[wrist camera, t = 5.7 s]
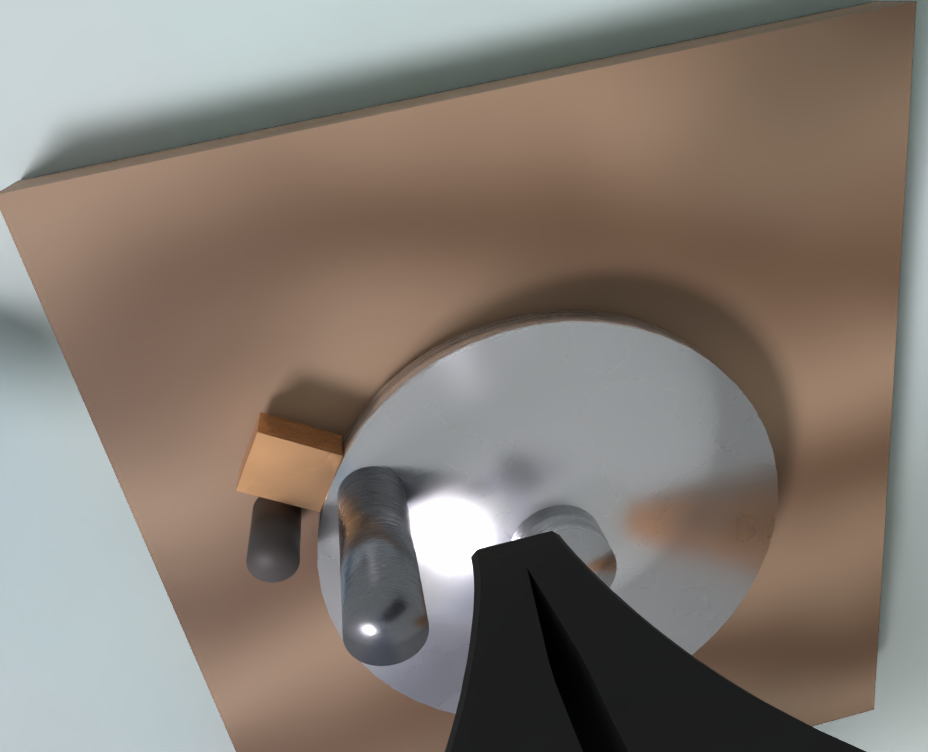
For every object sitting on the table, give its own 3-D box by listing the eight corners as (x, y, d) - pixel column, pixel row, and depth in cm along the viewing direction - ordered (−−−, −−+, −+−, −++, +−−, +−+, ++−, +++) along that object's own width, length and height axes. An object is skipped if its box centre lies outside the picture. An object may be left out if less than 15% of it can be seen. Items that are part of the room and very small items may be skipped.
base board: (847, 676, 29) (914, 761, 26) (289, 826, 27) (285, 937, 24) (874, 2, 19) (986, 1, 16) (18, 180, 18) (-48, 219, 15)
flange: (841, 395, 22) (1003, 517, 16) (634, 724, 25) (713, 905, 20) (335, 205, 17) (341, 288, 12) (180, 632, 21) (135, 832, 16)
